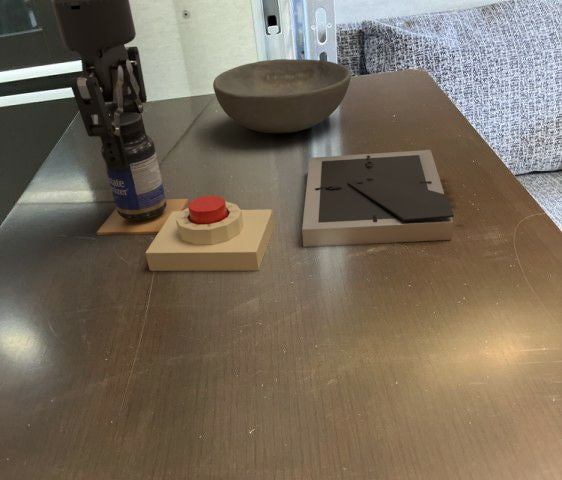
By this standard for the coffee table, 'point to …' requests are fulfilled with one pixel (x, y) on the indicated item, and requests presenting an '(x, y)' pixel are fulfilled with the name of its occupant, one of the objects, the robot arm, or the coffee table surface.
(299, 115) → the bowl
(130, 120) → the pill bottle
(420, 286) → the coffee table surface
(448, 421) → the coffee table surface
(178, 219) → the desk block
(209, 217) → the button
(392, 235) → the picture frame
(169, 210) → the coaster
